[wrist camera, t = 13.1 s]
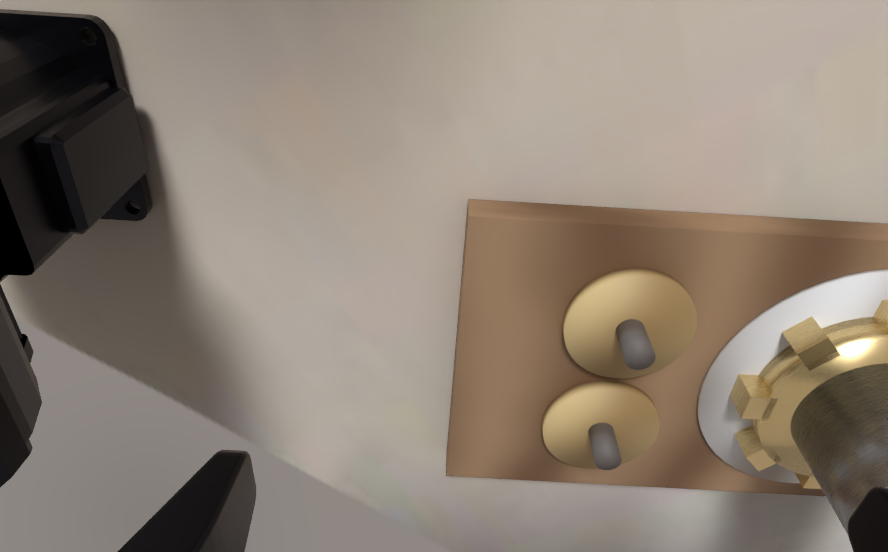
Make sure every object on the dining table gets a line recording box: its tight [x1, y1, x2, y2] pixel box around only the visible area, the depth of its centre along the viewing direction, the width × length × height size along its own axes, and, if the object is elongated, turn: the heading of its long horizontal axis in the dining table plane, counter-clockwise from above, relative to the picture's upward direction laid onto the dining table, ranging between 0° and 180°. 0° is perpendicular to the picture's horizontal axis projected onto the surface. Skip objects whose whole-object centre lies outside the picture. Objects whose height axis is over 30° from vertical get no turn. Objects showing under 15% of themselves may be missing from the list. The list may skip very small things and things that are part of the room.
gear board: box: [446, 199, 888, 496], centre depth 23 cm, size 22×13×3 cm, turn 87°
